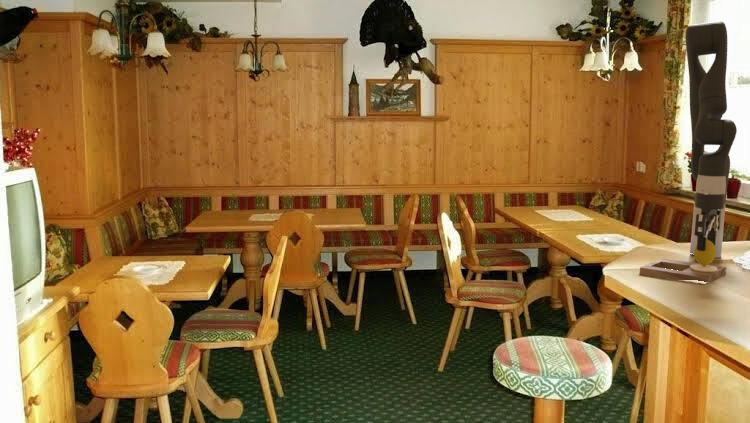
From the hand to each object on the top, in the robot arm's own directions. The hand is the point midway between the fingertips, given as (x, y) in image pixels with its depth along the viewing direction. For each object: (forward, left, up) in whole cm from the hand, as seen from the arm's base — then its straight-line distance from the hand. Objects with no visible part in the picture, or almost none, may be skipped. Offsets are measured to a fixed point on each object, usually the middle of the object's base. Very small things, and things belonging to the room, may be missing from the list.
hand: (706, 248), depth 210 cm
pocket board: (+1, -5, -8) cm, 10 cm away
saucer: (0, 0, -6) cm, 6 cm away
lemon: (0, 0, -6) cm, 6 cm away
